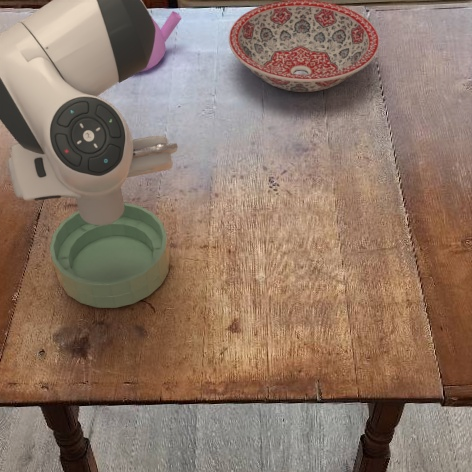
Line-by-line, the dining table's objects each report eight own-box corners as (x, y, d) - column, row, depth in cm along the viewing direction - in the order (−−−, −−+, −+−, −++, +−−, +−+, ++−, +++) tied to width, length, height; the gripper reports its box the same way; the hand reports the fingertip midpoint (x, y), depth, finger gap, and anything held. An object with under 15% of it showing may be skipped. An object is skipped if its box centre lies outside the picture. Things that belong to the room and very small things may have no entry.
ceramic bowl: (368, 125, 128) (375, 87, 121) (216, 109, 131) (215, 71, 124) (376, 43, 145) (383, 5, 138) (242, 30, 148) (242, -6, 142)
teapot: (192, 66, 140) (189, 15, 131) (96, 83, 136) (86, 33, 128) (174, 32, 148) (170, -18, 139) (84, 48, 144) (74, -2, 136)
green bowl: (49, 310, 101) (40, 283, 96) (69, 229, 111) (61, 201, 106) (164, 312, 101) (161, 285, 96) (173, 230, 111) (170, 202, 106)
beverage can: (103, 235, 94) (87, 165, 85) (70, 216, 96) (52, 146, 87) (134, 210, 97) (122, 140, 88) (102, 192, 100) (87, 122, 90)
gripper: (173, 116, 80) (163, 137, 93) (-4, 147, 76) (12, 163, 90) (184, 170, 81) (173, 183, 94) (10, 203, 77) (24, 211, 91)
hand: (93, 174), depth 92 cm, fingers closed on beverage can, 6 cm apart
